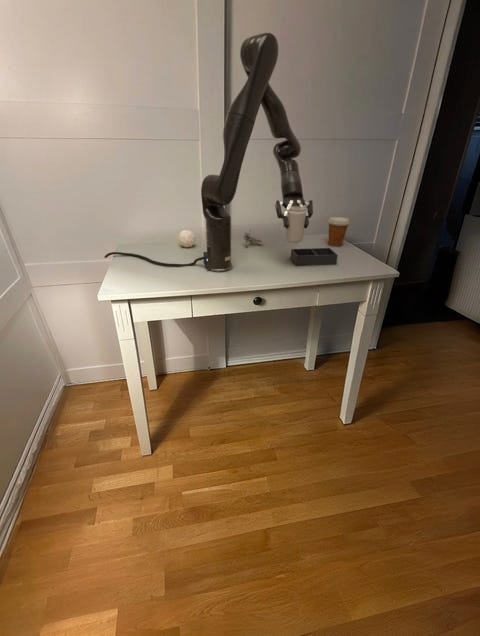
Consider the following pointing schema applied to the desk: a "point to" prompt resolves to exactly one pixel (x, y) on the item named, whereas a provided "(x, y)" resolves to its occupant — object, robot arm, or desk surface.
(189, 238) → the geometric ball
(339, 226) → the disposable coffee cup
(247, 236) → the elephant figurine
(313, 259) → the divided tray
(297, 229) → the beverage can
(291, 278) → the desk surface
